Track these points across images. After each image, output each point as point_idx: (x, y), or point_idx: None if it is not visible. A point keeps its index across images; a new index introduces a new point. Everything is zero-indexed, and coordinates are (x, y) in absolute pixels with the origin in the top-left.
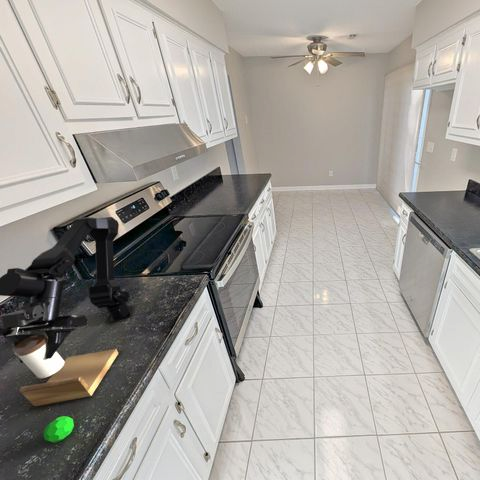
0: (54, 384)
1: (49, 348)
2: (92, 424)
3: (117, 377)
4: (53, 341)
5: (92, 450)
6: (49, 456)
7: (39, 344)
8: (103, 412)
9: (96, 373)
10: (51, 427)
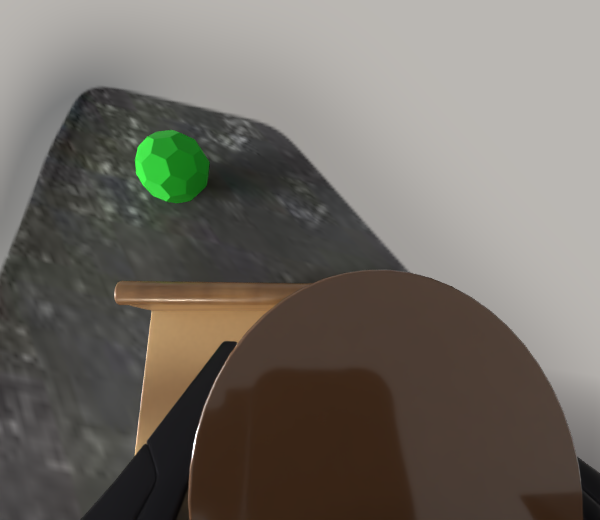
0: (235, 283)
1: (181, 406)
2: (108, 194)
3: (88, 368)
4: (106, 496)
5: (73, 123)
6: (191, 137)
7: (204, 405)
8: (87, 225)
9: (159, 386)
10: (164, 137)
